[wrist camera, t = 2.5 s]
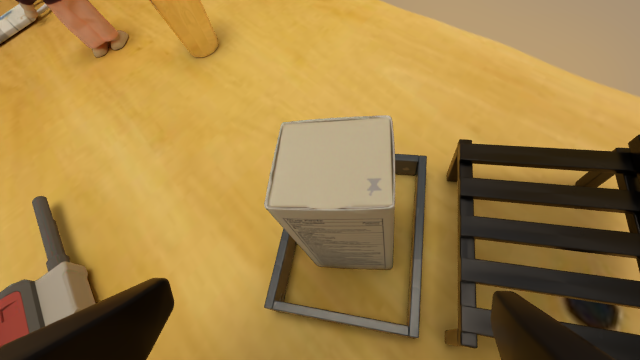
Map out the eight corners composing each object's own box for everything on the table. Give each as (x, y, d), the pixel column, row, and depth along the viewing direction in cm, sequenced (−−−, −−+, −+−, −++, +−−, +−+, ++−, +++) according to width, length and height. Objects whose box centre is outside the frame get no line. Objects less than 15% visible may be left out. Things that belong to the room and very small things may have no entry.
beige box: (392, 206, 22) (400, 112, 13) (393, 271, 20) (402, 213, 11) (318, 205, 23) (278, 117, 14) (312, 266, 21) (261, 210, 12)
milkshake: (222, 23, 35) (169, -84, 26) (226, 54, 32) (169, -54, 23) (184, 35, 35) (118, -67, 26) (185, 67, 32) (112, -34, 24)
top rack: (588, 182, 20) (650, 134, 15) (629, 381, 15) (735, 398, 11) (446, 171, 22) (462, 126, 17) (443, 344, 17) (465, 345, 13)
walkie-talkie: (148, 429, 18) (65, 196, 27) (84, 453, 14) (13, 172, 23) (4, 553, 17) (-32, 263, 26) (-111, 617, 13) (-105, 248, 22)
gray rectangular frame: (423, 170, 22) (426, 155, 21) (415, 338, 18) (418, 338, 16) (308, 161, 24) (302, 147, 23) (274, 310, 20) (263, 307, 18)
